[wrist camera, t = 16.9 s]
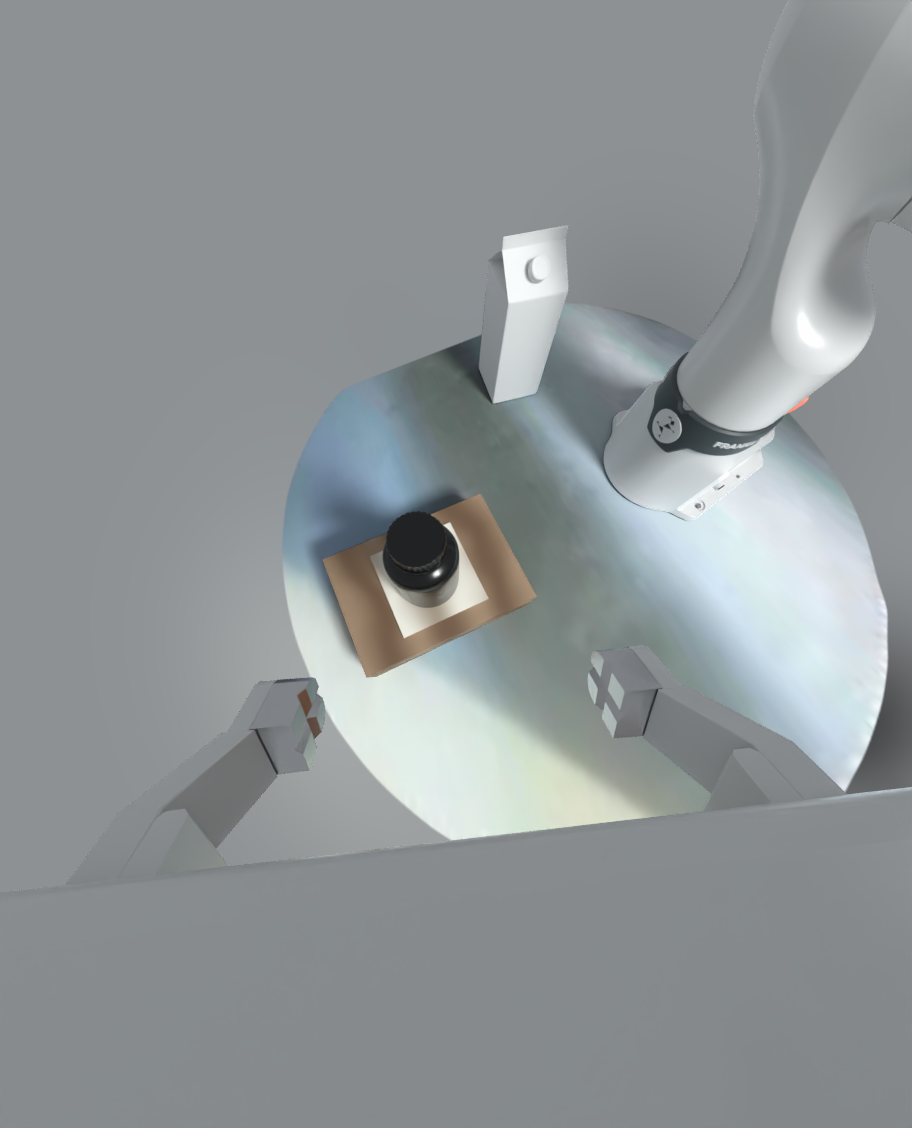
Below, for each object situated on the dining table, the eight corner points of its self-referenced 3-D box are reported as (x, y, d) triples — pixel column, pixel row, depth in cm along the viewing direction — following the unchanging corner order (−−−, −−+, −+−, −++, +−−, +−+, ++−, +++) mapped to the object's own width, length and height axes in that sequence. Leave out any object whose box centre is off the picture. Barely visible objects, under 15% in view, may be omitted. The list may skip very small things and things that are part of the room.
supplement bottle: (448, 542, 39) (447, 490, 28) (466, 599, 37) (473, 567, 26) (390, 558, 39) (364, 511, 27) (404, 617, 37) (384, 592, 25)
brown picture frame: (477, 511, 46) (480, 492, 41) (527, 604, 43) (537, 595, 38) (336, 571, 44) (321, 558, 38) (376, 676, 40) (365, 677, 35)
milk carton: (478, 369, 54) (492, 215, 36) (520, 359, 54) (555, 204, 36) (492, 404, 52) (515, 261, 34) (536, 394, 52) (581, 248, 34)
